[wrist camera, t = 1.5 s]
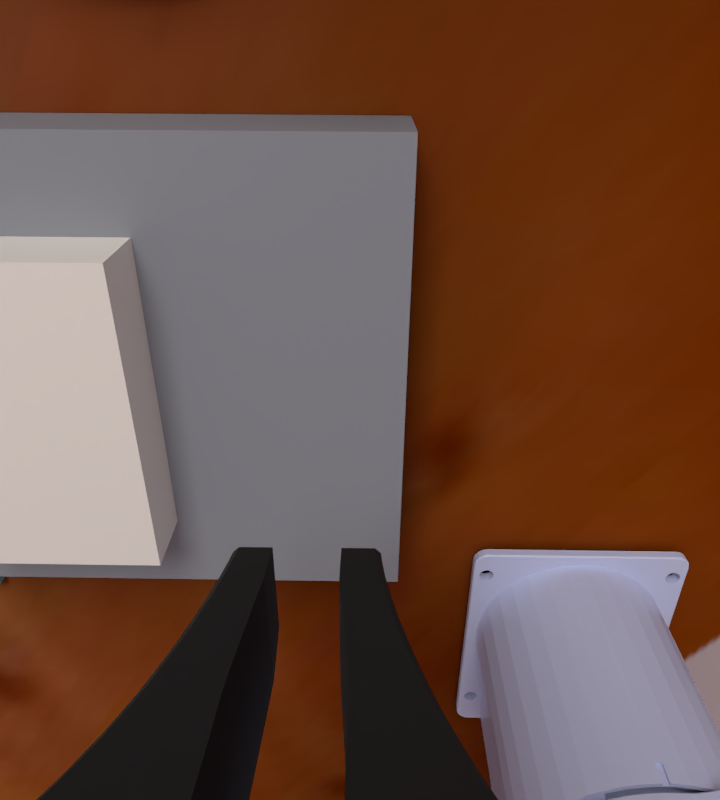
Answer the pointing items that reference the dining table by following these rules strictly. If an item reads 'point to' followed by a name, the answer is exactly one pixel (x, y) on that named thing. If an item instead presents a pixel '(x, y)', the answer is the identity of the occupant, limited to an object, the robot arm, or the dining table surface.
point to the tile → (78, 408)
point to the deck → (249, 315)
